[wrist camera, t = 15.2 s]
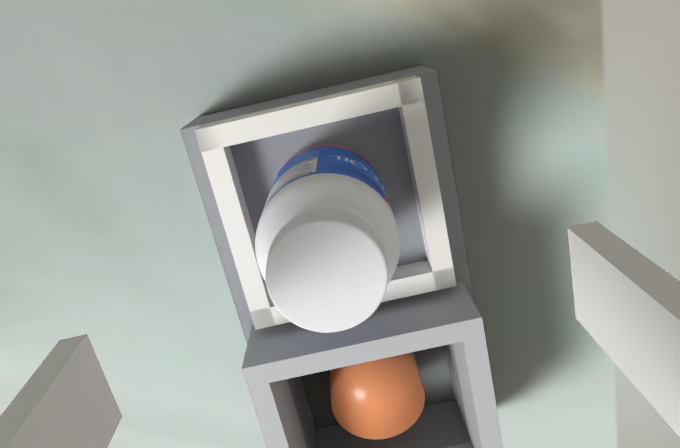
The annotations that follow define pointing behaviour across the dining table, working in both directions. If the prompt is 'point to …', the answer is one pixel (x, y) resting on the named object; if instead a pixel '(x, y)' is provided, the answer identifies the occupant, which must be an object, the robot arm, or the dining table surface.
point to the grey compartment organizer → (409, 277)
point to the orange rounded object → (378, 396)
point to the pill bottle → (327, 239)
